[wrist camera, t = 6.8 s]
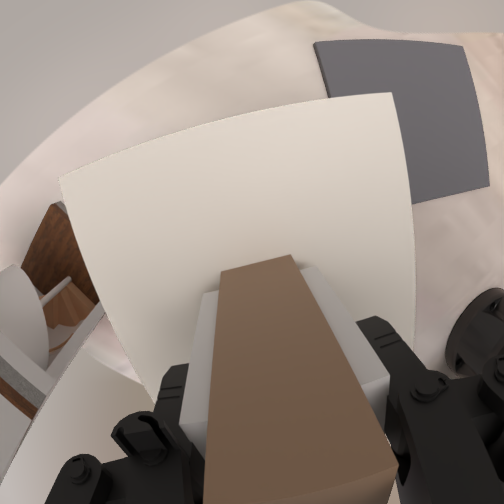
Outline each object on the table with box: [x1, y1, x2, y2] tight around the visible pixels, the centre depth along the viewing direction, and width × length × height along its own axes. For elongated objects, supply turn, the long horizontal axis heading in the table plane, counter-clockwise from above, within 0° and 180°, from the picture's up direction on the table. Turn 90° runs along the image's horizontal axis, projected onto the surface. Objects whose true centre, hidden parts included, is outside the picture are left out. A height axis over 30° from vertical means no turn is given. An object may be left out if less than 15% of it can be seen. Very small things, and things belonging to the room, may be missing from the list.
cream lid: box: [58, 92, 416, 504], centre depth 9 cm, size 15×15×11 cm
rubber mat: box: [313, 39, 490, 204], centre depth 26 cm, size 20×18×1 cm
